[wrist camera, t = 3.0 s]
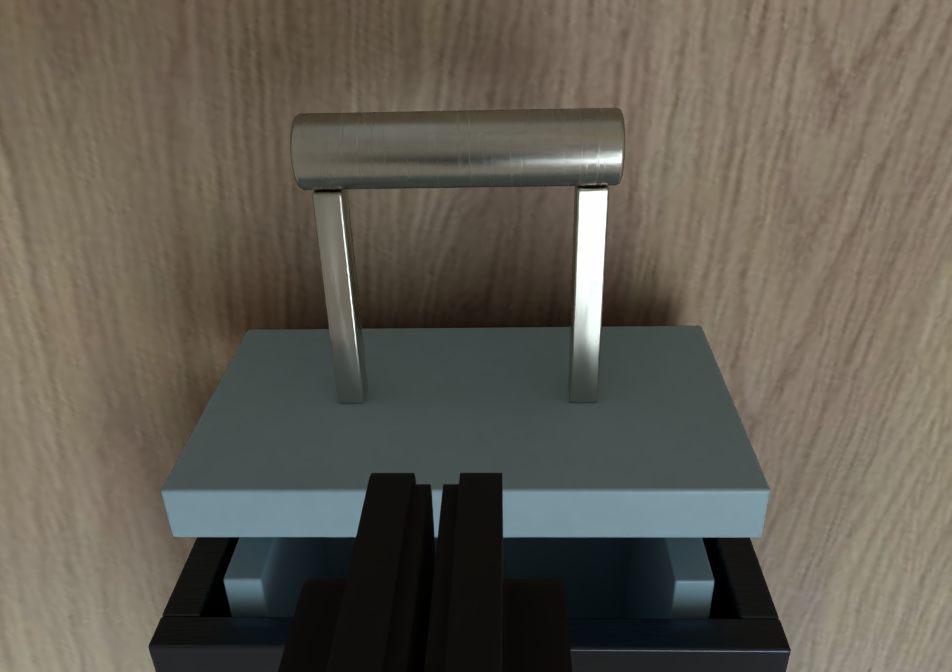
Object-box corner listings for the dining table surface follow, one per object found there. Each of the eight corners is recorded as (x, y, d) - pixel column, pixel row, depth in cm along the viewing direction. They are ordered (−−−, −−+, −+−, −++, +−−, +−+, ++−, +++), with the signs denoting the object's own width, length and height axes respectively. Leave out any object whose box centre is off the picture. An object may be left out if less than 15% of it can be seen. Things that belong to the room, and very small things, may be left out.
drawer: (201, 78, 18) (73, 173, 13) (732, 67, 18) (833, 160, 12) (311, 684, 28) (265, 885, 23) (658, 687, 28) (696, 892, 22)
